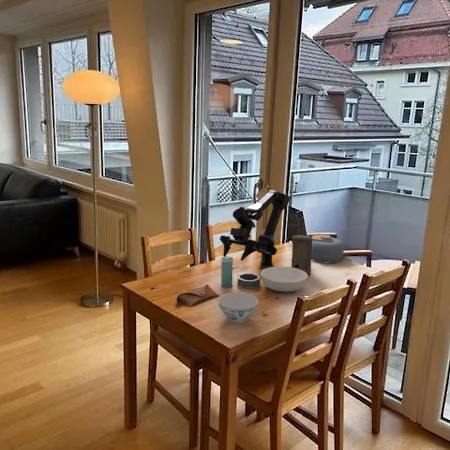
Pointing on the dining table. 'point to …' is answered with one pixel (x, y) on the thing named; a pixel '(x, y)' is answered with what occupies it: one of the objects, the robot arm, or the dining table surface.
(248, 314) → the chinaware
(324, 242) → the grey squat cylinder
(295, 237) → the vintage camera
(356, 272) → the dining table surface
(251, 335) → the dining table surface
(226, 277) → the teal peg
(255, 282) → the socket ring
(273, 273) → the serving bowl
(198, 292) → the sunglasses case
